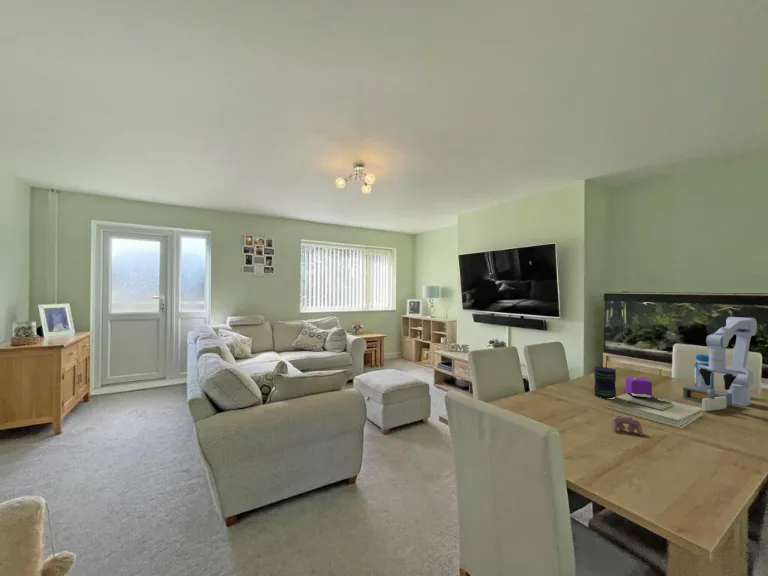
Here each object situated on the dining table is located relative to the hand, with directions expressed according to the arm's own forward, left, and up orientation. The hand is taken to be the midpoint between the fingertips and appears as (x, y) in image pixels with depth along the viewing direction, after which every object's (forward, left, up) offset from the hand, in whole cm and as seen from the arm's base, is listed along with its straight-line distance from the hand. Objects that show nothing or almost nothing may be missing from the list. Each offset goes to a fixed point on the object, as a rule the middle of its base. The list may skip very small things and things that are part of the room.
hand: (717, 387), depth 161 cm
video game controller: (+69, -5, -11) cm, 70 cm away
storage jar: (+31, -35, -11) cm, 48 cm away
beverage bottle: (-34, -17, -11) cm, 39 cm away
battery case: (-9, -7, -10) cm, 15 cm away
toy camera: (+12, -29, -11) cm, 33 cm away
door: (+4, 0, -10) cm, 11 cm away
